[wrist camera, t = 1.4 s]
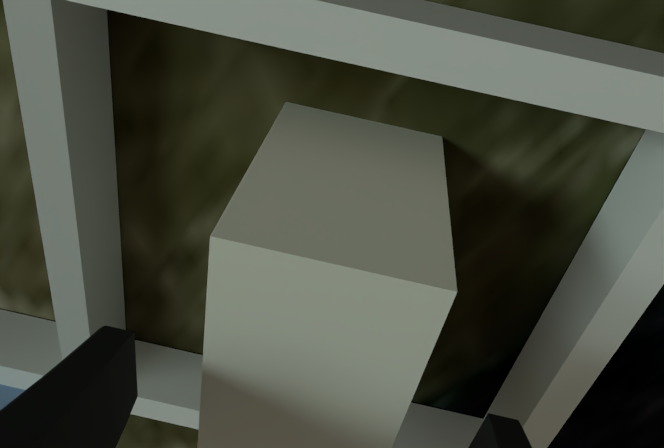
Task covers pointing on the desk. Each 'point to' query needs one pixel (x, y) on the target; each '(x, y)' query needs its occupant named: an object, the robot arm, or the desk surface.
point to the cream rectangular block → (326, 285)
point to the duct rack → (364, 50)
